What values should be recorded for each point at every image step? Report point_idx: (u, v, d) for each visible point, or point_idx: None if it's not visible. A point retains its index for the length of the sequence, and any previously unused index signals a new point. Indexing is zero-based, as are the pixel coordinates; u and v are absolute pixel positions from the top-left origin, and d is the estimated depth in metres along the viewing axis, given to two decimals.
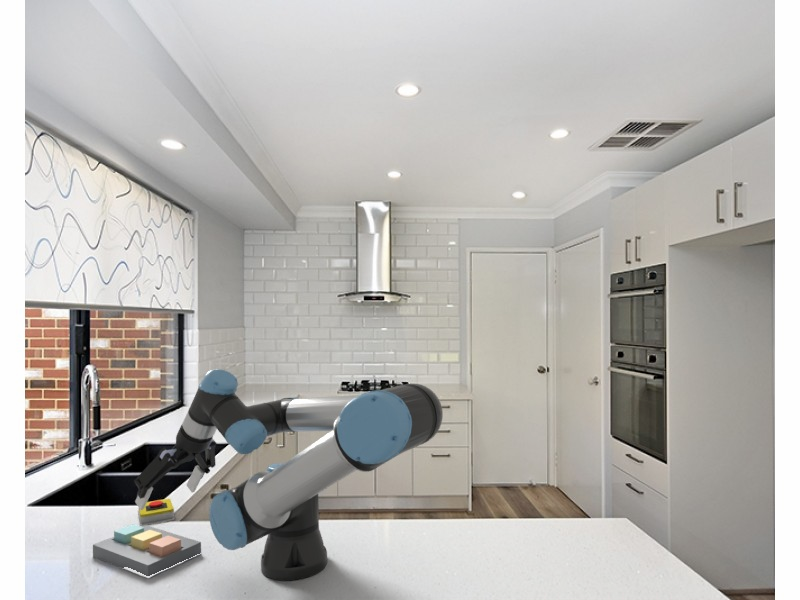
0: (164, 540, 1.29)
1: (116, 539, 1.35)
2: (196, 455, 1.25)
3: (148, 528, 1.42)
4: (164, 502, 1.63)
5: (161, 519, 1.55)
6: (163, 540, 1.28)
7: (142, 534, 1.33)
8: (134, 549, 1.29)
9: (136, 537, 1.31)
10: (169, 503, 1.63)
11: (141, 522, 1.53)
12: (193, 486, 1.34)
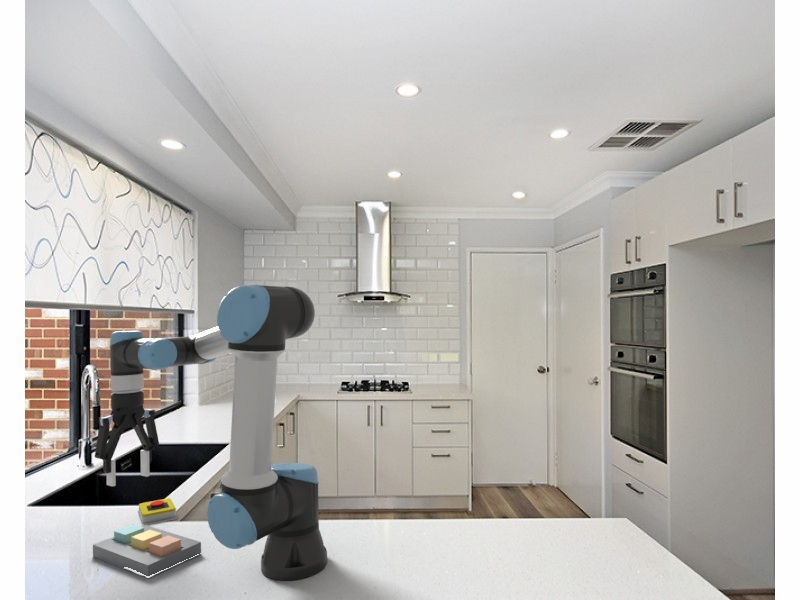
0: (164, 540, 1.29)
1: (116, 539, 1.35)
2: (136, 416, 1.37)
3: (148, 528, 1.42)
4: (165, 502, 1.63)
5: (163, 518, 1.56)
6: (163, 540, 1.28)
7: (142, 534, 1.33)
8: (134, 549, 1.29)
9: (136, 537, 1.31)
10: (170, 502, 1.63)
11: (143, 522, 1.53)
12: (145, 469, 1.40)
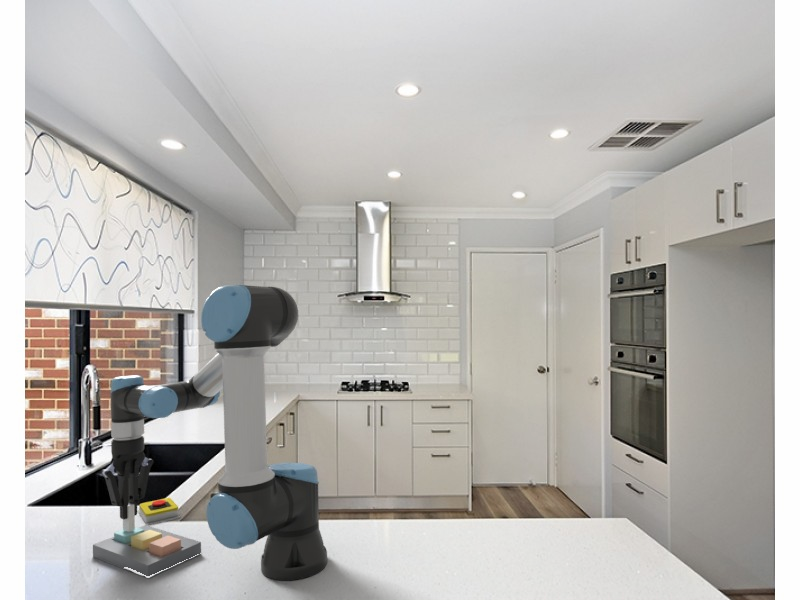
0: (164, 540, 1.29)
1: None
2: (136, 462, 1.37)
3: (148, 528, 1.42)
4: (165, 501, 1.64)
5: (167, 517, 1.56)
6: (163, 540, 1.28)
7: (142, 534, 1.33)
8: (134, 549, 1.29)
9: (136, 537, 1.31)
10: (171, 501, 1.64)
11: (147, 521, 1.54)
12: None
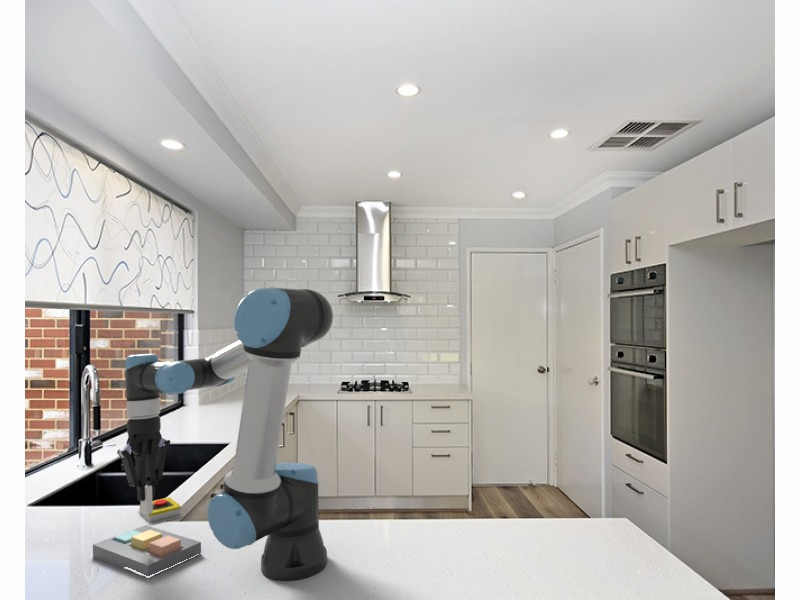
0: (164, 540, 1.29)
1: None
2: (153, 442, 1.33)
3: (148, 528, 1.42)
4: (166, 501, 1.64)
5: (169, 517, 1.57)
6: (163, 540, 1.28)
7: (142, 534, 1.33)
8: (134, 549, 1.29)
9: (136, 537, 1.31)
10: (172, 501, 1.64)
11: (150, 521, 1.54)
12: (148, 506, 1.32)
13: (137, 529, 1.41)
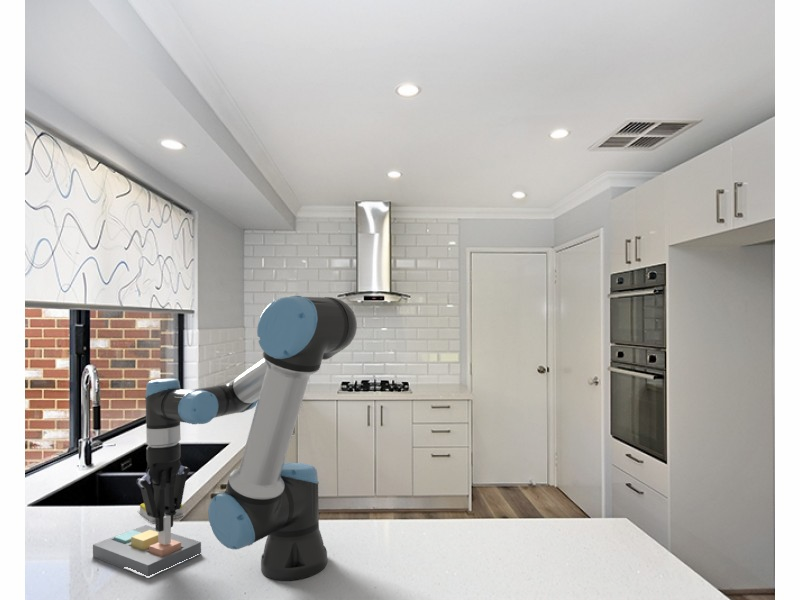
0: None
1: None
2: (172, 471, 1.29)
3: (148, 528, 1.42)
4: None
5: None
6: None
7: (142, 534, 1.33)
8: (134, 549, 1.29)
9: (136, 537, 1.31)
10: None
11: (153, 520, 1.54)
12: (166, 536, 1.28)
13: (137, 529, 1.41)
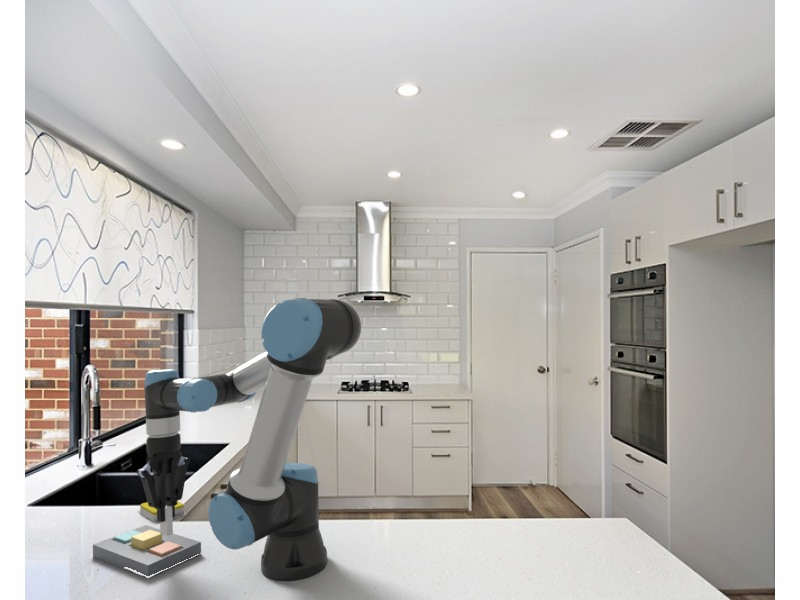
0: (164, 546, 1.29)
1: None
2: (173, 461, 1.29)
3: (148, 528, 1.42)
4: None
5: None
6: (163, 547, 1.28)
7: (142, 534, 1.33)
8: (134, 549, 1.29)
9: (136, 537, 1.31)
10: None
11: (155, 520, 1.55)
12: None
13: (137, 529, 1.41)
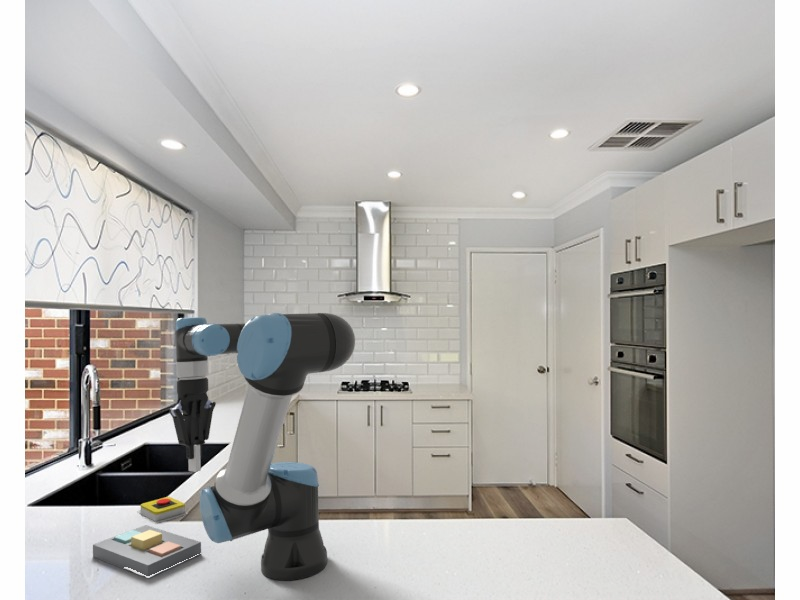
0: (164, 546, 1.29)
1: None
2: (201, 402, 1.37)
3: (148, 528, 1.42)
4: None
5: (175, 515, 1.59)
6: (163, 547, 1.28)
7: (142, 534, 1.33)
8: (134, 549, 1.29)
9: (136, 537, 1.31)
10: (173, 500, 1.65)
11: (157, 519, 1.55)
12: None
13: (137, 529, 1.41)
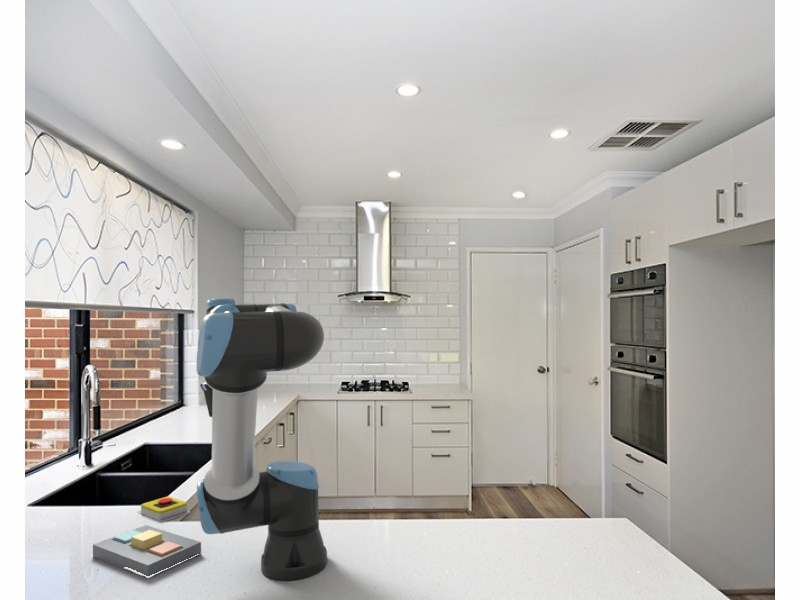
0: (164, 546, 1.29)
1: None
2: None
3: (148, 528, 1.42)
4: None
5: (177, 513, 1.59)
6: (163, 547, 1.28)
7: (142, 534, 1.33)
8: (134, 549, 1.29)
9: (136, 537, 1.31)
10: (174, 499, 1.66)
11: (160, 518, 1.55)
12: None
13: (137, 529, 1.41)
